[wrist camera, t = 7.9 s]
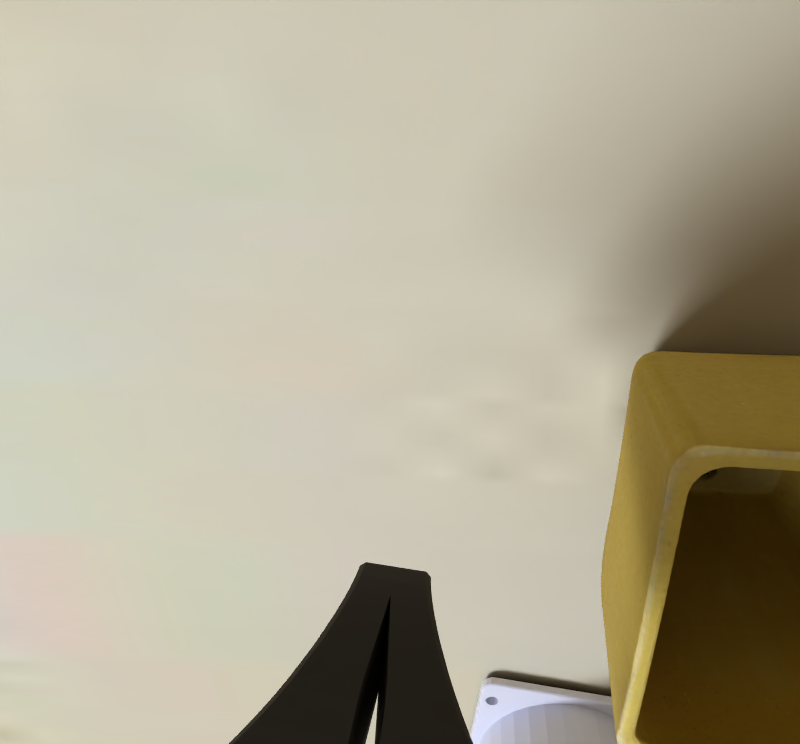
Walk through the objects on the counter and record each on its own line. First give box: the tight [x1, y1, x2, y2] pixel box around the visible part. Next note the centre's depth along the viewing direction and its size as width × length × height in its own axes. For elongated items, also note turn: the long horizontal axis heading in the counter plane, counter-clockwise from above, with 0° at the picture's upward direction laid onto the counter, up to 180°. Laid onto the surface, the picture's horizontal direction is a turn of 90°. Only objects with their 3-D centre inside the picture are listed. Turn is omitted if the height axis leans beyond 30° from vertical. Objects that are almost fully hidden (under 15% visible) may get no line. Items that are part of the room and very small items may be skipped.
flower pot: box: [601, 351, 800, 744], centre depth 17 cm, size 9×9×9 cm
